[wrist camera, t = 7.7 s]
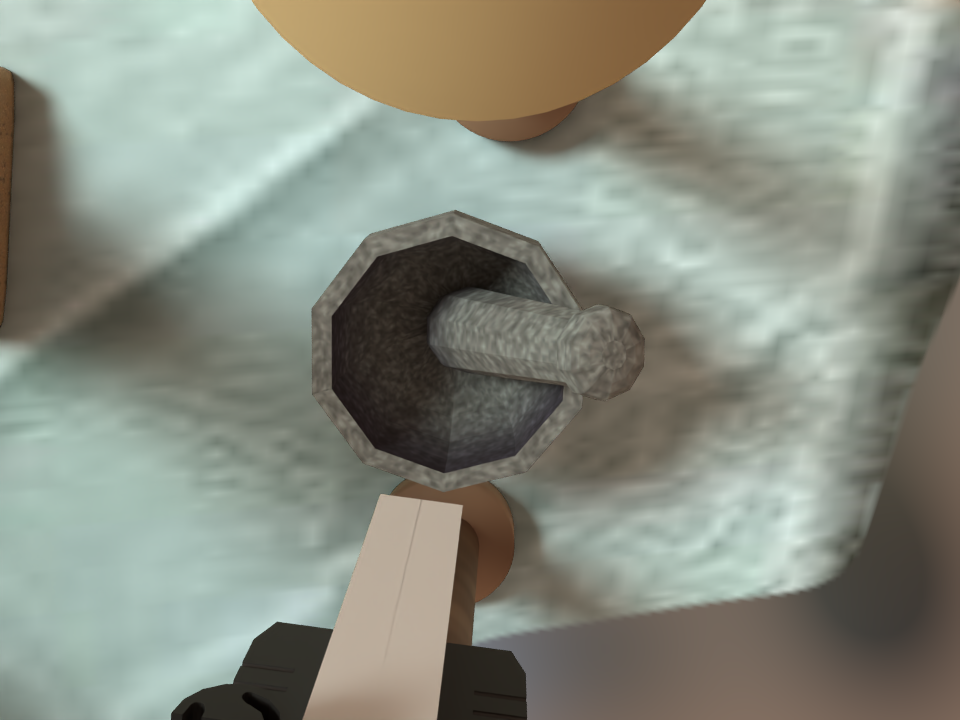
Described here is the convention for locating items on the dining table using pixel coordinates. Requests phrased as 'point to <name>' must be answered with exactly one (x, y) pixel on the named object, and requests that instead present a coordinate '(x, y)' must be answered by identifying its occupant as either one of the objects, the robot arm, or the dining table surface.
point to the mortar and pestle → (461, 351)
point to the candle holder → (5, 173)
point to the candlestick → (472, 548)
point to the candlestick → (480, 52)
